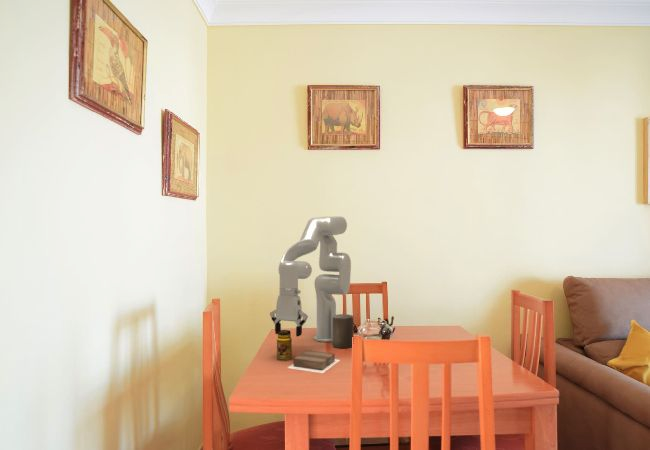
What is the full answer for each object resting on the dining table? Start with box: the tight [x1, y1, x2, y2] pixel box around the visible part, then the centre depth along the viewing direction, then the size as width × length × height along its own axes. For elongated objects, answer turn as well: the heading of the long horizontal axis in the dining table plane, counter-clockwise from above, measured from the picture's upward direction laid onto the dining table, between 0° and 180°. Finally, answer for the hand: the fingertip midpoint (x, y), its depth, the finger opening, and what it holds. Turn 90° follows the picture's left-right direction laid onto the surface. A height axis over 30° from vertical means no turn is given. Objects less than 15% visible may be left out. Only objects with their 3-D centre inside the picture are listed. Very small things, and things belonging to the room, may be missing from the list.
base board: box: [287, 358, 341, 374], centre depth 159 cm, size 17×15×1 cm
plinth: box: [293, 349, 336, 370], centre depth 160 cm, size 12×12×3 cm
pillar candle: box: [332, 313, 354, 349], centre depth 188 cm, size 10×10×15 cm
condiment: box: [276, 329, 293, 362], centre depth 168 cm, size 7×8×12 cm
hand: (288, 334), depth 166 cm, fingers open, 9 cm apart
